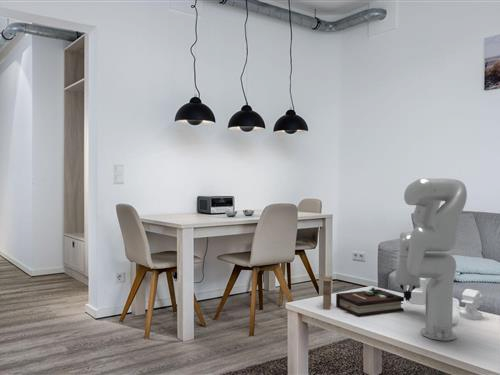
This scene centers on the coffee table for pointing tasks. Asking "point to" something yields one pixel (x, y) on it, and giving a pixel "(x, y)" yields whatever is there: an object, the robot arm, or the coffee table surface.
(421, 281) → the cylinder with rectangular tab
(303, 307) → the coffee table surface
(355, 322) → the coffee table surface
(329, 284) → the bookend
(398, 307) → the decorative book
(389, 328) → the coffee table surface
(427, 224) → the robot arm
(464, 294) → the character figurine
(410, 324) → the coffee table surface
